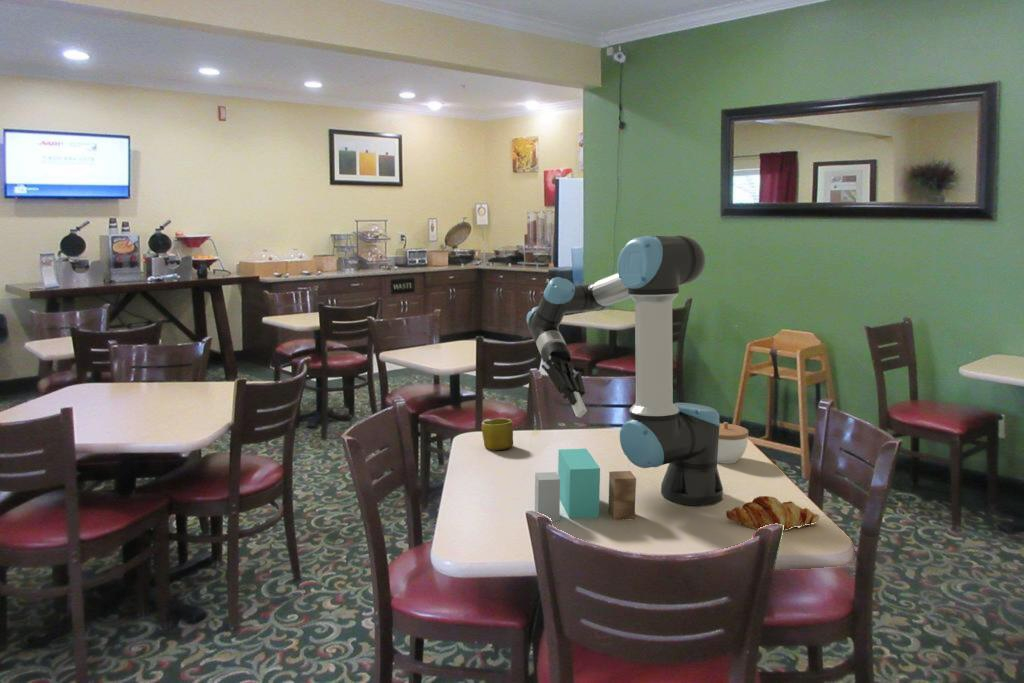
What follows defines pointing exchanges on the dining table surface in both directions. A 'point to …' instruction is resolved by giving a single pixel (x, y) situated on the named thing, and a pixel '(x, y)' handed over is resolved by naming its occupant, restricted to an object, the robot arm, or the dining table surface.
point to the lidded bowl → (731, 443)
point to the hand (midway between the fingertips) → (581, 413)
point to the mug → (497, 433)
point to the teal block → (579, 483)
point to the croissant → (771, 513)
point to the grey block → (547, 494)
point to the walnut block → (622, 495)
